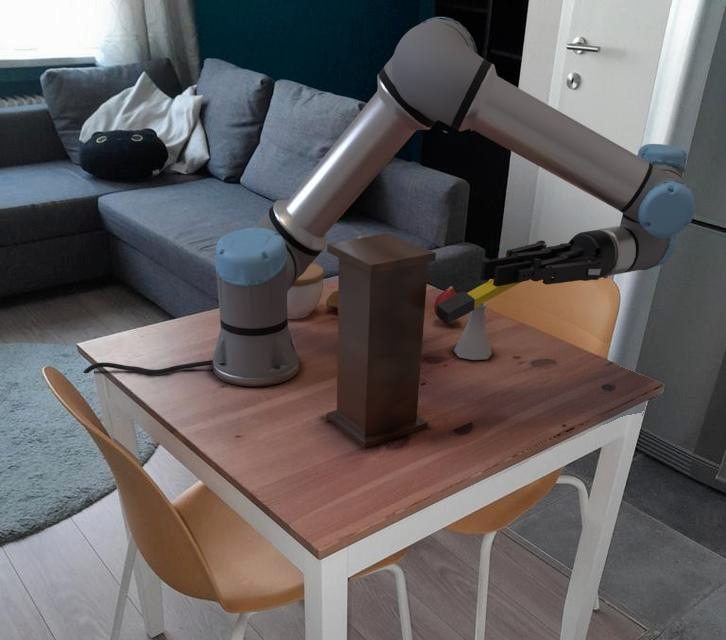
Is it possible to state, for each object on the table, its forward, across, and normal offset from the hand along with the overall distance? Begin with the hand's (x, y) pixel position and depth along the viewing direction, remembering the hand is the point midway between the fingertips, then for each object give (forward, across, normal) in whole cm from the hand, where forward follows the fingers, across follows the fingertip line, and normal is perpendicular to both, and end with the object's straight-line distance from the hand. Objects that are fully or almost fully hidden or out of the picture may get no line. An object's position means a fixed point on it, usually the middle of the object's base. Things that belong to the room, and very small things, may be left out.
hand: (489, 273), depth 116 cm
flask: (-18, +20, -24) cm, 37 cm away
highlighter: (0, 0, -4) cm, 4 cm away
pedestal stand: (+13, +7, -25) cm, 29 cm away
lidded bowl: (0, +55, -25) cm, 61 cm away
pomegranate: (-24, +34, -24) cm, 48 cm away
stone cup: (-14, +50, -24) cm, 57 cm away
